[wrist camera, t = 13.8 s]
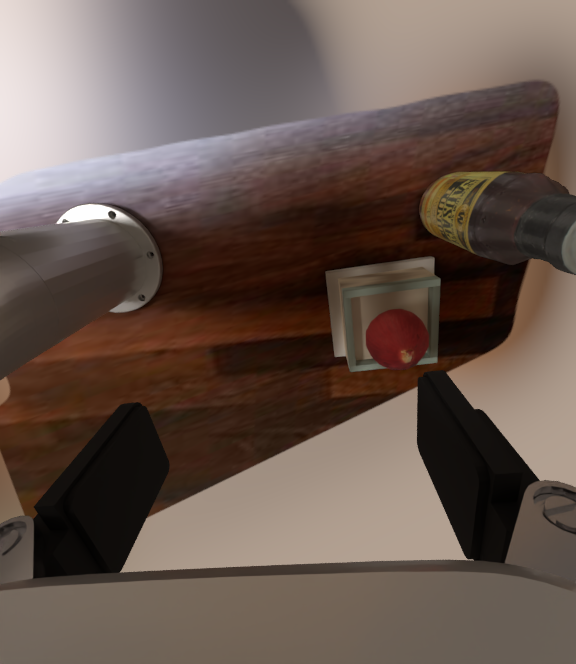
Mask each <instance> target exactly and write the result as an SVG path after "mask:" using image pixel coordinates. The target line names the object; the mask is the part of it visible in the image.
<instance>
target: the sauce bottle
mask: <svg viewBox="0 0 576 664" xmlns="http://www.w3.org/2000/svg"><path fill="white" fill-rule="evenodd" d="M419 212H420V218H421V220H422V224H423V226H424V227H425V228H427V230H428V231H429V232H430V233H431V234H433V235H435V236H437V237H439V238H441V239H444V240H446V241H448V242H450V243H452V244H455V245H457V246H459V247H461V248H464V249H466V250H468V251H470V252H472V253H474V254H476V255H478V256H481V257H485V258H488V259H492V260H495V261H499V262H502V263H505V264H509V265H515V264H517V263H520V262H523V261H526V260H529V259H531V258H534V259H541V260H544V261H547V262H549V263H550V264H552V265H553V266H554V267H555V268H556V269H558V270H561V271H564V272H567V273H570V274H574V275H576V196H574V195H570V194H569V192H568V190H567V189H566V188H565V187H564V186H562V185H561V184H560V183H559V182H556V181H554V180H551V179H550V178H549V177H547V176H545V175H544V174H542V173H530V174H528V173H527V174H525V173H521V172H456V173H451V174H448V175H444V176H442V177H440V178H438V179H437V180H435V181H434V182H432V183H431V184H430V185H429V187H428V188H427V189H426V191H425V193H424V194H423V197H422V198H421V203H420V205H419Z"/></svg>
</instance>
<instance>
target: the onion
mask: <svg viewBox="0 0 576 664" xmlns="http://www.w3.org/2000/svg"><path fill="white" fill-rule="evenodd" d="M366 347H367V349H368V351H369V353H370V355H371V356H372V358H373V359H374V360H375V361H376V362H377V363H378V364H380V365H381V366H383V367H386V368H389V369H391V370H406V369H408V368H410V367H413V366H415V365H417V364H418V362H419V361H420V360H421V359H422V358H423V356H424V355H425V353H426V351H427V349H428V347H429V333H428V331H427V329H426V327H425V325H424V323H423V321H422V320H421V319H420V318H419V317H418V316H417V315H415V314H414V313H412V312H410V311H407V310H404V309H391V310H387V311H385V312H383V313H381V314H379V315H378V316H377V317H376V318H374V319H373V320H372V321H371V322H370V324H369V326H368V328H367V330H366Z"/></svg>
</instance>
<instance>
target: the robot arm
mask: <svg viewBox="0 0 576 664" xmlns="http://www.w3.org/2000/svg"><path fill="white" fill-rule="evenodd" d="M115 214H116V216H115ZM152 252H153V254H154V256H153V255H152ZM162 274H163V265H162V258H161V254H160V251H159V248H158V246H157V244H156V242H155V240H154V238H153V237H152V235H151V234H150V232H149V231H148V229H147V228H146V227H145V226H144V225H143V224H142V223H141V222H140V221H139V220H138V219H136V218H135V217H134V216H133V215H131V214H130V213H128V212H126V211H124V210H122V209H121V208H118V207H115V206H112V205H109V204H102V203H88V204H83V205H78V206H76V207H73V208H71V209H69V210H68V211H67V212H65V213H64V214H63V215H62V216H61V217H60V219H59V220H58V221H57V223H56V224H50V225H43V226H36V227H29V228H22V229H15V230H8V231H1V232H0V380H1V379H3V378H4V377H6V376H7V375H9V374H10V373H12V372H13V371H15V370H16V369H18V368H19V367H21V366H22V365H24V364H26V363H27V362H29V361H30V360H32V359H33V358H35V357H37V356H38V355H40V354H41V353H43V352H44V351H46V350H48V349H50V348H51V347H53V346H55V345H56V344H58V343H59V342H61V341H62V340H64V339H66V338H67V337H69V336H70V335H72V334H73V333H75V332H77V331H78V330H80V329H81V328H83V327H84V326H86V325H88V324H89V323H91V322H92V321H94V320H96V319H97V318H99V317H100V316H102V315H104V314H105V313H107V312H115V313H119V312H129V311H133V310H136V309H138V308H140V307H142V306H143V305H145V304H146V303H147V302H149V301H150V300H151V299H152V298H153V297H154V296H155V294H156V292H157V291H158V289H159V287H160V284H161V281H162ZM144 296H145V297H144ZM417 411H418V412H417V445H418V449H419V452H420V455H421V457H422V459H423V462H424V464H425V466H426V468H427V470H428V473H429V475H430V477H431V480H432V482H433V484H434V487H435V489H436V491H437V493H438V496H439V498H440V500H441V502H442V505H443V507H444V509H445V512H446V514H447V516H448V519H449V521H450V523H451V525H452V528H453V530H454V532H455V535H456V537H457V539H458V541H459V544H460V546H461V548H462V551H463V553H464V555H465V556H466V558H467V559H473V560H474V561H470V560H469V561H468V560H467V561H466V560H419V561H418V560H414V561H372V562H347V563H323V564H322V563H321V564H296V565H271V566H250V567H228V568H227V567H226V568H206V569H185V570H184V569H183V570H163V571H144V572H124V573H119V572H120V571H121V570H122V568H123V566H124V564H125V562H126V560H127V558H128V555H129V553H130V551H131V549H132V547H133V545H134V543H135V541H136V539H137V537H138V534H139V532H140V530H141V528H142V526H143V524H144V522H145V520H146V518H147V516H148V514H149V512H150V510H151V507H152V505H153V503H154V501H155V499H156V497H157V495H158V493H159V491H160V489H161V487H162V484H163V482H164V480H165V478H166V476H167V474H168V472H169V461H168V458H167V456H166V453H165V451H164V449H163V446H162V444H161V441H160V439H159V436H158V434H157V432H156V429H155V427H154V424H153V422H152V419H151V417H150V415H149V412H148V410H147V408H146V407H145V406H142V404H141V403H138V402H136V403H127V404H121V405H120V406H119V407H118V408H117V409H116V411H115V412H114V413H113V414H112V415H111V417H110V418H109V419H108V420H107V421H106V422H105V424H104V425H103V426H102V427H101V428H100V429H99V431H98V432H97V433H96V434H95V435H94V437H93V438H92V439H91V440H90V441H89V442H88V444H87V445H86V446H85V447H84V448H83V449H82V451H81V452H80V453H79V454H78V455H77V457H76V458H75V459H74V460H73V461H72V462H71V464H70V465H69V466H68V467H67V468H66V469H65V471H64V472H63V473H62V474H61V475H60V477H59V478H58V479H57V480H56V481H55V482H54V484H53V485H52V486H51V487H50V488H49V489H48V491H47V492H46V493H45V494H44V495H43V497H42V498H41V499H40V500H39V501H38V502H37V504H36V505H35V506H34V508H35V510H36V511H37V513H38V514H37V515H36V517H35V518H34V519H32V518H31V517H29V516H19V517H14V518H11V519H9V520H7V521H5V522H3V523H1V524H0V664H576V487H573V486H571V485H568V484H565V483H561V482H558V481H548V480H544V481H540V480H539V479H538V478H537V477H536V475H535V474H534V473H533V472H532V470H531V469H530V468H529V467H528V465H527V464H526V463H525V462H524V460H523V459H522V458H521V457H520V455H519V454H518V453H517V452H516V451H515V449H514V448H513V447H512V446H511V444H510V443H509V442H508V441H507V439H506V438H505V437H504V436H503V435H502V433H501V432H500V431H499V429H498V428H497V427H496V426H495V425H494V423H493V422H492V421H491V420H490V418H489V417H488V416H487V415H486V414H485V413H484V412H483V411H482V410H480V409H474V408H473V407H472V406H471V405H470V403H469V402H468V401H467V399H466V398H465V397H464V395H463V394H462V393H461V392H460V390H459V389H458V388H457V386H456V385H455V384H454V383H453V381H452V380H451V379H450V377H449V376H448V375H447V373H446V372H445V371H443V370H441V371H431V372H425V373H424V375H423V377H419V378H418V404H417Z"/></svg>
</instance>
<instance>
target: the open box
mask: <svg viewBox="0 0 576 664" xmlns="http://www.w3.org/2000/svg"><path fill="white" fill-rule="evenodd" d="M434 260H435V258H434V257H432V256H429V257H422V258H415V259H408V260H401V261H394V262H387V263H380V264H373V265H366V266H359V267H352V268H345V269H338V270H331V271H325V272H326V282H327V291H328V300H329V309H330V318H331V328H332V337H333V346H334V354H335V357H340V356H346V358H347V362H348V366H349V370H350V372H355V371H364V370H374V369H383V368H386V367H383V366H381V365H380V364H378V363H377V362H376V361H375V360H374V359H373V358H372V356H371V355H370V353H369V351H368V349H367V347H366V330H367V328H368V326H369V324H370V322H371V321H372V320H373V319H374V318H376V317H377V316H378V315H379V314H381V313H383V312H385V311H387V310H391V309H404V310H407V311H410V312H412V313H414V314H415V315H417V316H418V317H419V318H420V319H421V320H422V321H423V323H424V325H425V327H426V329H427V331H428V333H429V347H428V349H427V351H426V353H425V355H424V356H423V358H422V359H421V360H420V361H419V362H418V364H417V365H420V364H429V363H437V355H438V330H439V306H440V281H441V279H440V278H439V277H437V276H436V275H434Z"/></svg>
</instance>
